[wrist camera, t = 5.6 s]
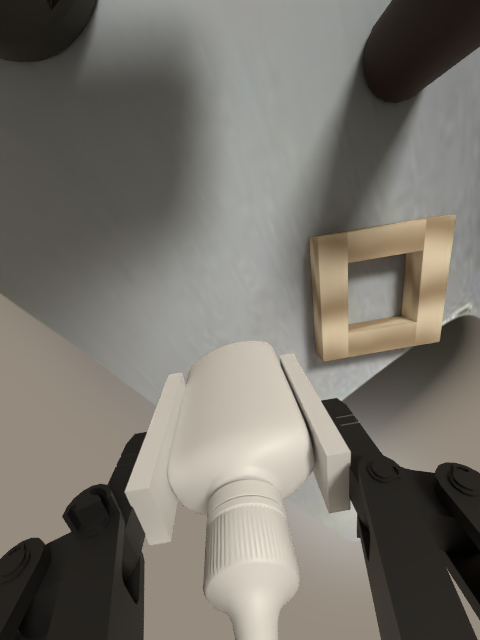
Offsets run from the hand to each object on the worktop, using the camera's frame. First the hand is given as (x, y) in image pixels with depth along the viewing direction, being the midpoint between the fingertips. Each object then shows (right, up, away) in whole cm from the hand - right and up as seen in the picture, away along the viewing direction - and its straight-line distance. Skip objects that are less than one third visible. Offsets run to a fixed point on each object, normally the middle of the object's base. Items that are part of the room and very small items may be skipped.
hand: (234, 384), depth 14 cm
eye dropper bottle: (0, +1, +2) cm, 2 cm away
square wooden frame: (+16, +7, +15) cm, 23 cm away
